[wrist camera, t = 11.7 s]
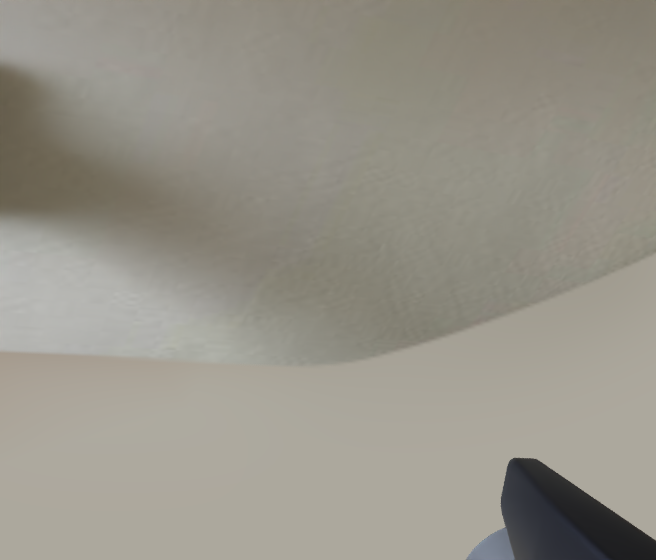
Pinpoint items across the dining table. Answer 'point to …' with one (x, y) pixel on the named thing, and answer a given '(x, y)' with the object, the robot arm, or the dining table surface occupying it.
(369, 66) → the dining table surface
